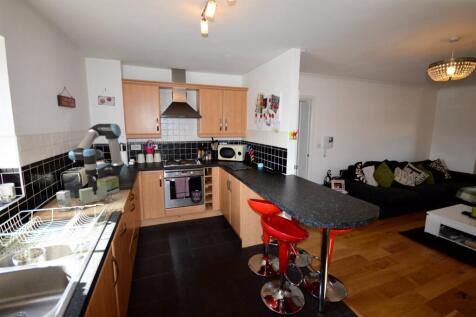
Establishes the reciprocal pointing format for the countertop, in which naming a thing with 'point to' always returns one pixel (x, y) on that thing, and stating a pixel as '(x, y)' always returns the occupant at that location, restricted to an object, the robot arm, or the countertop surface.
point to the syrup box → (63, 200)
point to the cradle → (94, 202)
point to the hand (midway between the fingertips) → (93, 197)
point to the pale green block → (88, 195)
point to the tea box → (109, 184)
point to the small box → (73, 188)
